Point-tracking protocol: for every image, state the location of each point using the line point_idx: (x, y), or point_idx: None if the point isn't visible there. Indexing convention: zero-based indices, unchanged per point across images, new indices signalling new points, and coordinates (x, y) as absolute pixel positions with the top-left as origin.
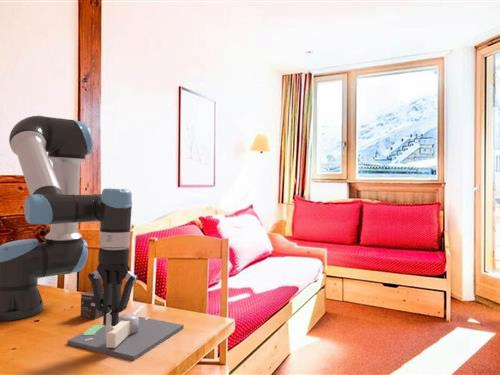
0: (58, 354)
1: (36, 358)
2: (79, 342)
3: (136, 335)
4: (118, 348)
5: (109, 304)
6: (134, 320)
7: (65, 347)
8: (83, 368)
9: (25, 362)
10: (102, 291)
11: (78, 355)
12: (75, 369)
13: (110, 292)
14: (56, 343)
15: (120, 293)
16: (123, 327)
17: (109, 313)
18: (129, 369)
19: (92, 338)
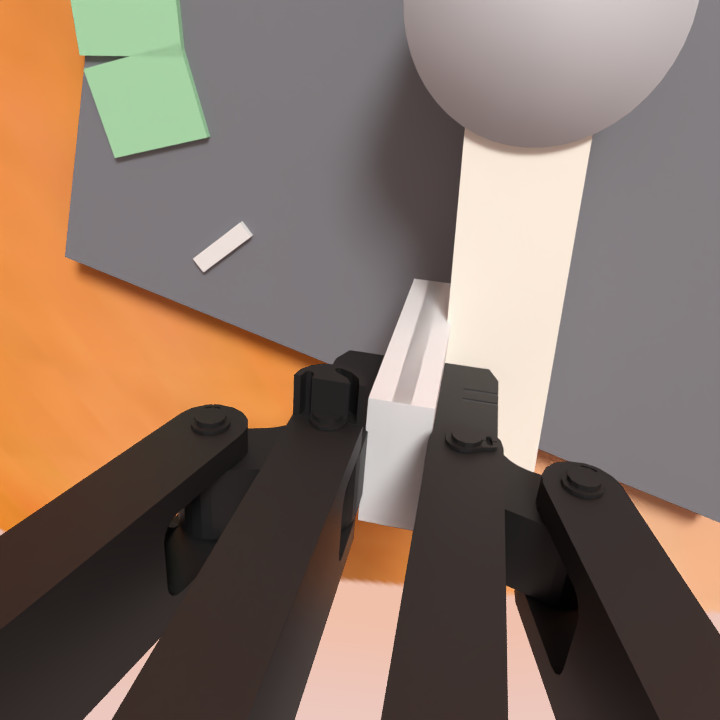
0: (141, 403)
1: (59, 447)
2: (180, 295)
3: (658, 101)
4: (548, 397)
5: (338, 544)
6: (651, 88)
7: (111, 303)
8: (395, 566)
9: (42, 486)
10: (58, 601)
11: (273, 418)
12: (355, 572)
13: (276, 709)
14: (4, 240)
15: (502, 683)
16: (557, 330)
17: (385, 499)
18: (700, 601)
19: (242, 230)
